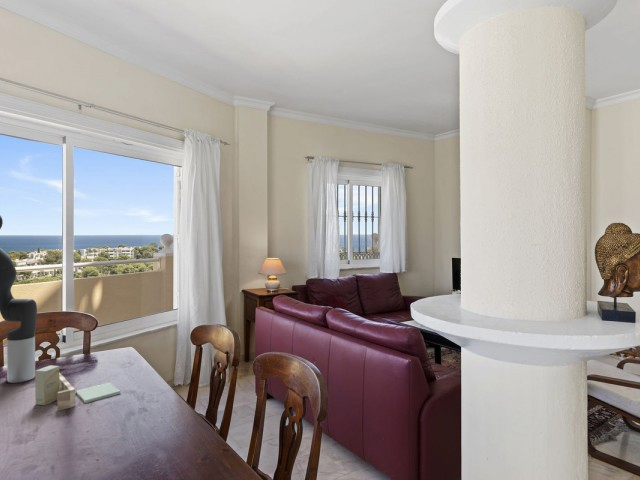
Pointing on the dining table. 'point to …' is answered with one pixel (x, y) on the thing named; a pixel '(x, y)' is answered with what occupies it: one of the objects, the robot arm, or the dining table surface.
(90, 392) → the sage tile
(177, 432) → the dining table surface
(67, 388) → the beige long angular piece
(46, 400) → the skincare box
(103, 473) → the dining table surface
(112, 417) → the dining table surface
